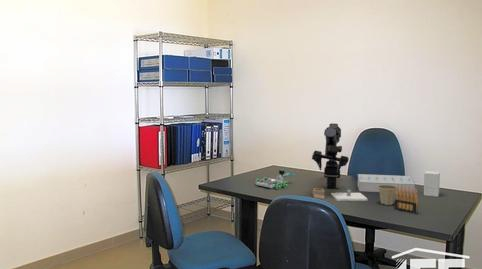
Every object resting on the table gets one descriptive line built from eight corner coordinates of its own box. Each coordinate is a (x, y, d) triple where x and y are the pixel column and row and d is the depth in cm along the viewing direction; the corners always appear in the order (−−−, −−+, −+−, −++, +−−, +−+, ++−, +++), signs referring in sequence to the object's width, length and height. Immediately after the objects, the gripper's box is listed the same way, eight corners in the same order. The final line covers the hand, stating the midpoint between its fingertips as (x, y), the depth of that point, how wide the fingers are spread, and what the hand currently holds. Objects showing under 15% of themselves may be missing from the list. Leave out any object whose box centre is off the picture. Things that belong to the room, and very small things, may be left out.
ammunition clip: (417, 213, 194) (419, 188, 193) (416, 214, 193) (417, 188, 192) (395, 208, 202) (396, 184, 200) (394, 209, 200) (395, 185, 199)
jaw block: (312, 195, 228) (312, 188, 228) (321, 195, 228) (321, 188, 228) (315, 198, 221) (315, 191, 221) (324, 198, 221) (324, 191, 221)
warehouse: (359, 191, 238) (359, 178, 237) (357, 186, 252) (357, 173, 251) (414, 194, 232) (415, 181, 231) (410, 188, 246) (410, 176, 245)
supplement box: (439, 194, 231) (440, 171, 229) (438, 197, 224) (439, 174, 223) (424, 192, 234) (425, 170, 233) (423, 195, 228) (424, 172, 227)
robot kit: (301, 184, 256) (301, 169, 255) (274, 191, 238) (274, 175, 238) (278, 180, 269) (278, 166, 268) (251, 186, 252) (251, 171, 251)
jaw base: (331, 194, 230) (331, 187, 229) (360, 194, 230) (360, 187, 230) (336, 200, 217) (336, 193, 216) (367, 200, 217) (367, 193, 217)
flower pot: (373, 202, 214) (373, 185, 213) (388, 200, 217) (388, 184, 216) (385, 206, 205) (386, 189, 204) (400, 205, 208) (401, 188, 207)
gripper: (317, 135, 223) (315, 160, 214) (352, 142, 222) (351, 167, 214) (312, 146, 232) (310, 171, 224) (345, 153, 232) (344, 177, 223)
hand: (329, 171), depth 221 cm, fingers open, 9 cm apart
